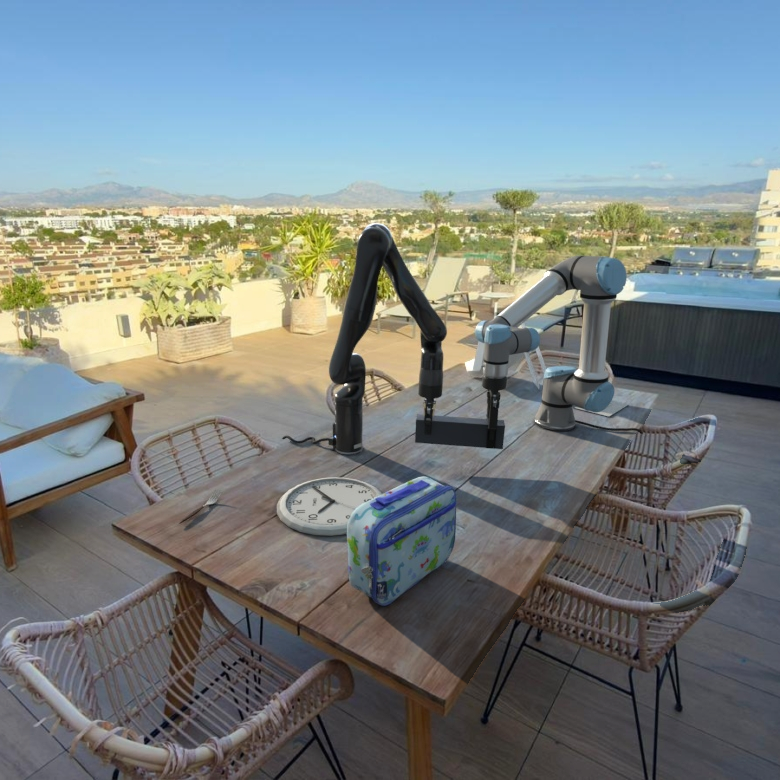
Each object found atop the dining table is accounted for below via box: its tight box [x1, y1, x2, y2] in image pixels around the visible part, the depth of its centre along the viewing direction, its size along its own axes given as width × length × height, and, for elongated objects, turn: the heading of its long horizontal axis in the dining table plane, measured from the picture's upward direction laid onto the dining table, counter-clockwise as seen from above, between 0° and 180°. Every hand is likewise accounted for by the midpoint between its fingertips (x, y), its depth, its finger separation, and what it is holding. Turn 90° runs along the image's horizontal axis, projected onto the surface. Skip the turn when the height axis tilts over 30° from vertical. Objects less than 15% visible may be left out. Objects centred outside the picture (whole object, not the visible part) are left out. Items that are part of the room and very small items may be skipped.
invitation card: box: [573, 400, 629, 418], centre depth 226 cm, size 21×1×15 cm
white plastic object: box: [464, 321, 547, 390], centre depth 260 cm, size 37×45×31 cm
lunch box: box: [346, 475, 457, 607], centre depth 111 cm, size 26×11×21 cm, turn 134°
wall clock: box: [276, 476, 384, 537], centre depth 142 cm, size 30×2×30 cm
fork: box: [178, 489, 223, 525], centre depth 139 cm, size 3×16×2 cm, turn 160°
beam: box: [414, 413, 506, 450], centre depth 169 cm, size 28×5×8 cm, turn 83°
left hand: (428, 430), depth 170 cm, fingers closed on beam, 5 cm apart
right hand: (490, 444), depth 169 cm, fingers closed on beam, 5 cm apart
